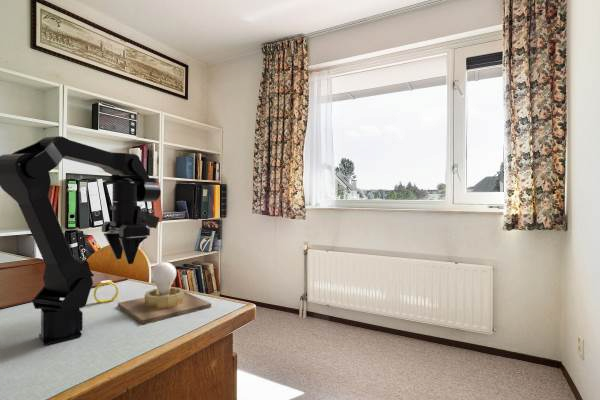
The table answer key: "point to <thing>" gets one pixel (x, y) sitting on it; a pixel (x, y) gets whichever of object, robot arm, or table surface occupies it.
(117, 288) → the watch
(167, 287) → the lightbulb
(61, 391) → the table surface
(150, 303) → the socket collar
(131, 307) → the socket base
